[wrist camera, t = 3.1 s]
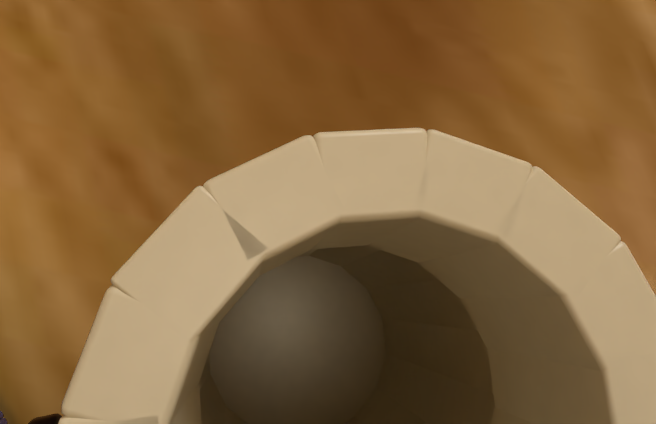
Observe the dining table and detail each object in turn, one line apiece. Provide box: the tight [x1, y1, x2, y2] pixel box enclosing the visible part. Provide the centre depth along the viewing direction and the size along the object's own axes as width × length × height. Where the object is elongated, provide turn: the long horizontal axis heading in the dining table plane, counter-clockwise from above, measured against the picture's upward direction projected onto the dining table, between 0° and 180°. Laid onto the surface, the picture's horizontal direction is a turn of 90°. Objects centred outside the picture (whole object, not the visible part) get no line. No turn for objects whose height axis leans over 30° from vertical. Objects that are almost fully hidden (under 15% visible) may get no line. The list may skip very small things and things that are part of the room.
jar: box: [58, 128, 656, 424], centre depth 11 cm, size 6×6×12 cm
